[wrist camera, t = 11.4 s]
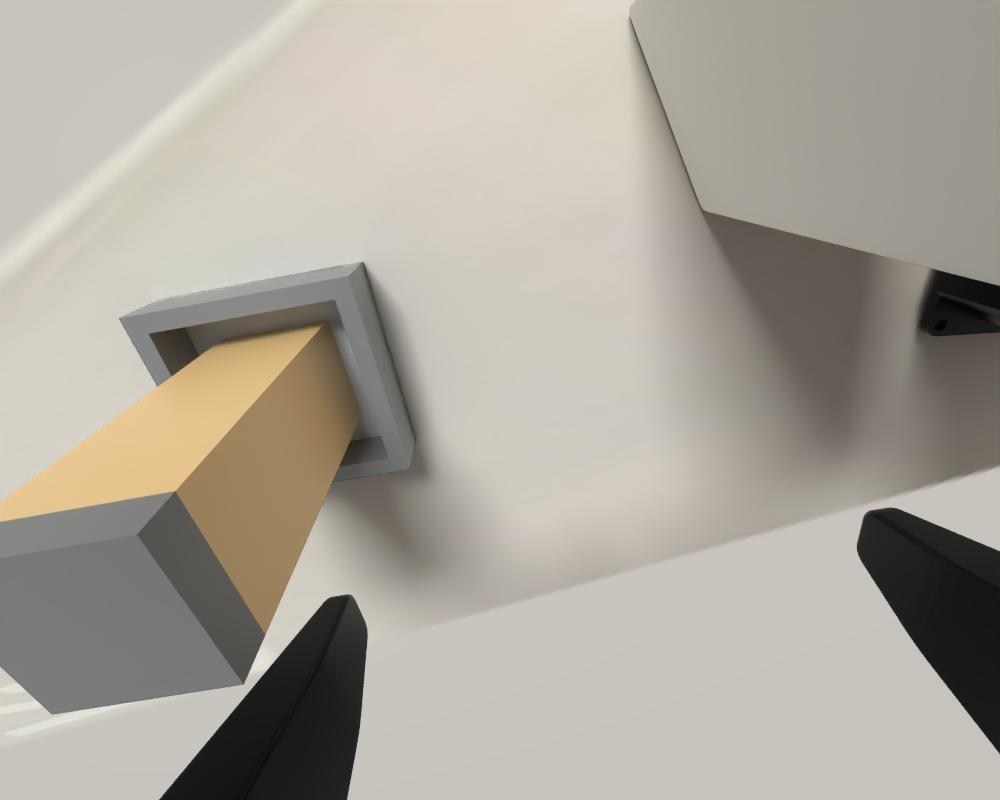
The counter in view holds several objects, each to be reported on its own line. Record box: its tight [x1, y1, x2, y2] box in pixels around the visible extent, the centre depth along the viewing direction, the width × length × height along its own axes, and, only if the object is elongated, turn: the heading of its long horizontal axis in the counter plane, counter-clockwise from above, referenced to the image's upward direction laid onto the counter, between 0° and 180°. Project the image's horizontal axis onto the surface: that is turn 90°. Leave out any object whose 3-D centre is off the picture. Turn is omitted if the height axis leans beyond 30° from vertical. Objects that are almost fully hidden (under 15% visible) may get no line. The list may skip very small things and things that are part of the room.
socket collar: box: [119, 262, 416, 482], centre depth 19 cm, size 8×8×2 cm
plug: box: [0, 320, 362, 714], centre depth 15 cm, size 4×4×12 cm
